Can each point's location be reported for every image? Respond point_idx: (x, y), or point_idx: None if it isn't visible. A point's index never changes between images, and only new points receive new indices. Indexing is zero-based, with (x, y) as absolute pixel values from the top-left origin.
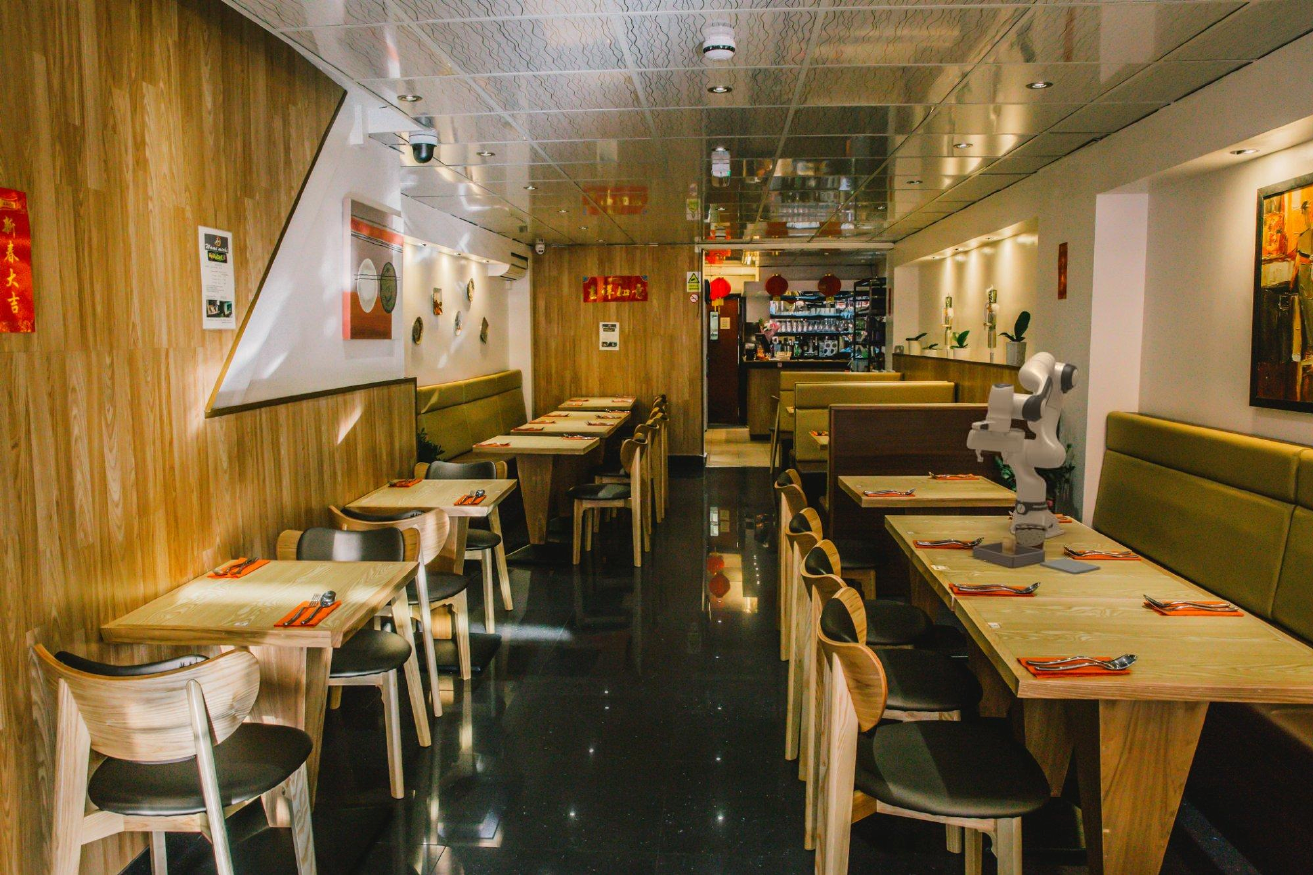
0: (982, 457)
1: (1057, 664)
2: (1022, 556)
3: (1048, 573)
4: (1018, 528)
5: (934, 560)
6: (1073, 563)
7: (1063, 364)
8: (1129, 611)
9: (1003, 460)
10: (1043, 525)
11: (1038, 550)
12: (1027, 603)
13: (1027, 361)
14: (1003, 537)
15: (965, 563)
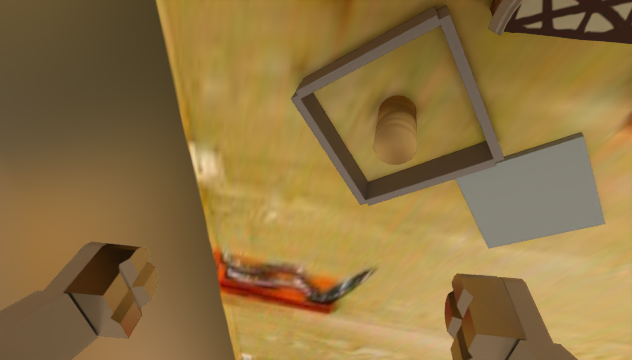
0: (115, 329)
1: None
2: (398, 194)
3: (430, 230)
4: (514, 32)
5: (195, 107)
6: (554, 189)
7: None
8: None
9: (464, 325)
10: None
11: (489, 147)
12: (307, 328)
13: None
14: (381, 134)
15: (267, 139)
